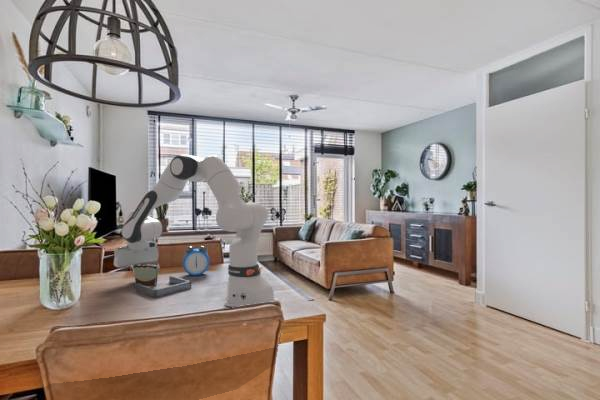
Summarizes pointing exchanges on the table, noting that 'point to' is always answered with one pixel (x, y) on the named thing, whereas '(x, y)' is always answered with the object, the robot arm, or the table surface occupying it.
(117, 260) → the robot arm
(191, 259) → the alarm clock
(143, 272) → the food container
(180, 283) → the metal dock
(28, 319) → the table surface
